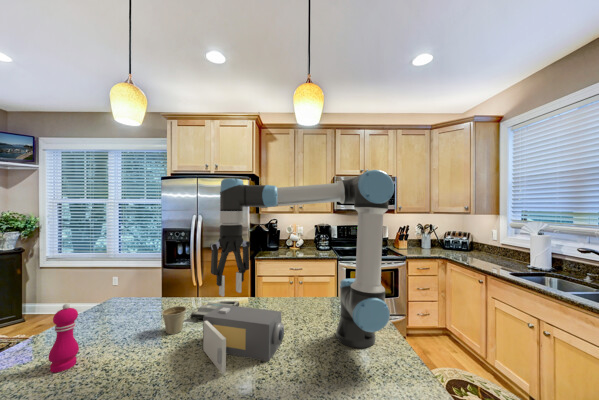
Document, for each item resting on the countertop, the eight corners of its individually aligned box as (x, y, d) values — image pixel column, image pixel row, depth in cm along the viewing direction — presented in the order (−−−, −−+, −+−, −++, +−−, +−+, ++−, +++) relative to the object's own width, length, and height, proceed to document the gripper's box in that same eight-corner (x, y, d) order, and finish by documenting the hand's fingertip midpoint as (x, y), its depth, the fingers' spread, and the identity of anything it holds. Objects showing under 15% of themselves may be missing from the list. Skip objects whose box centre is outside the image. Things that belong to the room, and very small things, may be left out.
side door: (225, 372, 77) (226, 338, 77) (219, 374, 76) (219, 340, 76) (206, 348, 90) (207, 320, 90) (201, 350, 89) (201, 321, 89)
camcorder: (235, 320, 117) (236, 309, 117) (189, 322, 114) (190, 311, 114) (239, 307, 133) (239, 297, 133) (199, 309, 130) (199, 299, 131)
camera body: (287, 344, 95) (287, 309, 96) (275, 362, 83) (276, 323, 84) (221, 334, 103) (222, 302, 103) (202, 349, 91) (203, 313, 92)
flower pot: (164, 339, 99) (164, 316, 99) (159, 330, 106) (159, 309, 107) (189, 331, 105) (189, 310, 105) (182, 324, 112) (183, 304, 113)
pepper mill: (75, 357, 86) (78, 298, 87) (80, 365, 82) (83, 303, 83) (46, 367, 81) (49, 304, 82) (49, 377, 76) (52, 309, 77)
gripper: (250, 223, 94) (249, 285, 93) (200, 224, 82) (198, 296, 81) (260, 223, 88) (259, 290, 87) (208, 225, 77) (206, 302, 75)
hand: (230, 293), depth 84 cm, fingers open, 5 cm apart
